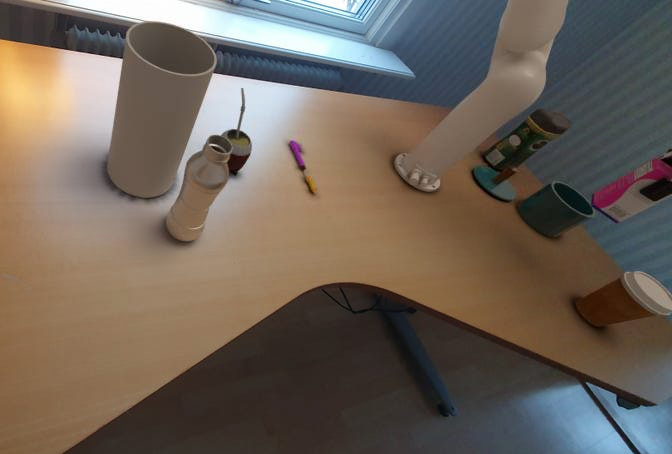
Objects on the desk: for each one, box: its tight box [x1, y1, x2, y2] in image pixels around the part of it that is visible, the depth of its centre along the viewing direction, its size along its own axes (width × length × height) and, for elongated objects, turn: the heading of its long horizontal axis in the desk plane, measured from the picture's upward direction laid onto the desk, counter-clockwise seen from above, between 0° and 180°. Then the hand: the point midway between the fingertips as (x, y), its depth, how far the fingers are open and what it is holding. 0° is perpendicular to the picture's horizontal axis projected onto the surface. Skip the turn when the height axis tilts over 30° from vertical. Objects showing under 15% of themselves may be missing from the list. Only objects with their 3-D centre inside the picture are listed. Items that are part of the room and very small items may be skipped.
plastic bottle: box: [165, 134, 233, 242], centre depth 56 cm, size 6×7×20 cm
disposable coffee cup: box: [575, 270, 672, 328], centre depth 78 cm, size 10×10×12 cm
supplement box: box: [590, 157, 672, 224], centre depth 73 cm, size 6×6×12 cm
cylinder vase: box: [106, 20, 218, 199], centre depth 59 cm, size 12×12×25 cm
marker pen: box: [289, 140, 318, 195], centre depth 84 cm, size 3×1×16 cm
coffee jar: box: [483, 107, 572, 172], centre depth 106 cm, size 10×8×19 cm
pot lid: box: [472, 165, 519, 202], centre depth 102 cm, size 13×13×7 cm
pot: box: [517, 180, 597, 238], centre depth 97 cm, size 12×12×9 cm
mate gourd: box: [220, 87, 253, 177], centre depth 71 cm, size 8×8×15 cm
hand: (643, 186), depth 73 cm, fingers closed on supplement box, 6 cm apart
